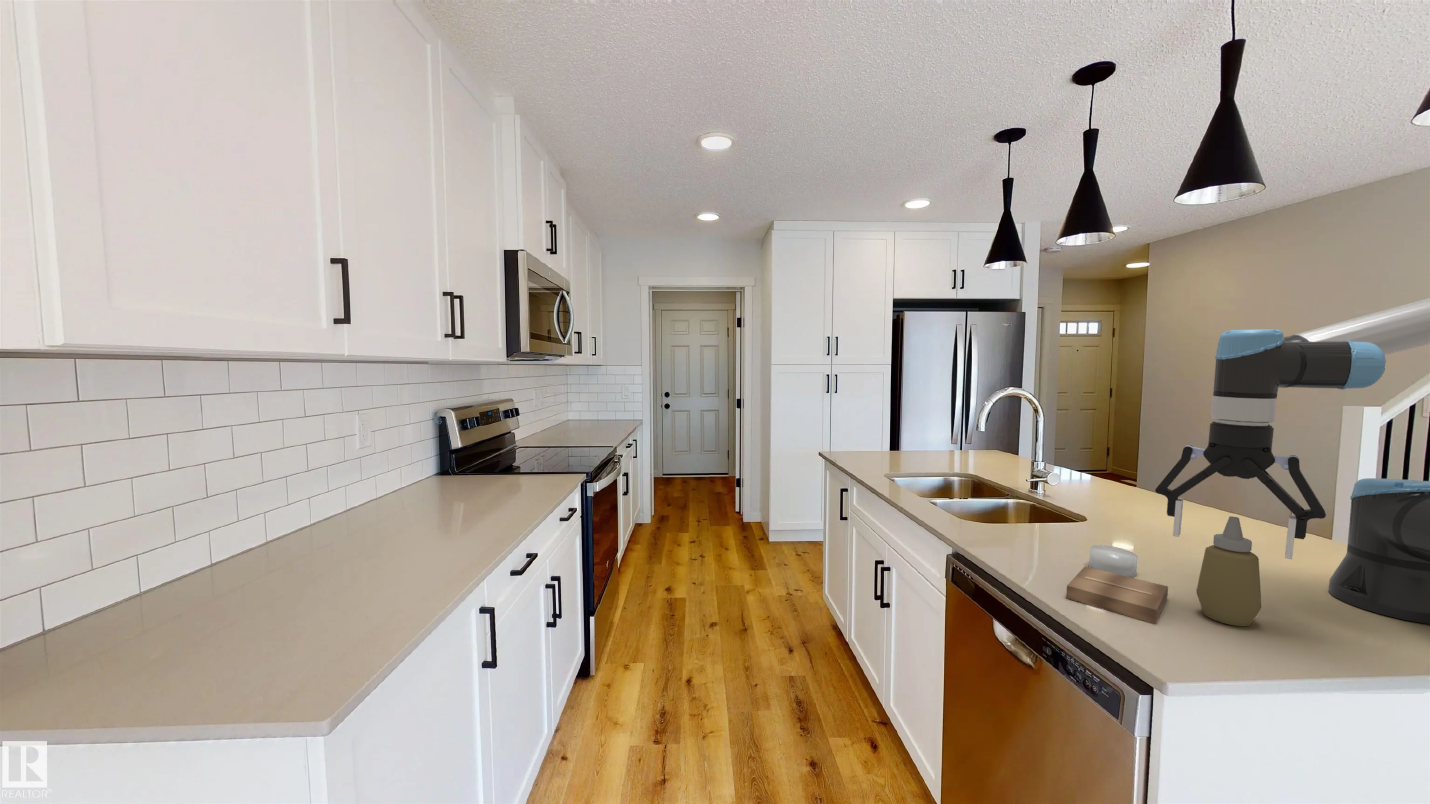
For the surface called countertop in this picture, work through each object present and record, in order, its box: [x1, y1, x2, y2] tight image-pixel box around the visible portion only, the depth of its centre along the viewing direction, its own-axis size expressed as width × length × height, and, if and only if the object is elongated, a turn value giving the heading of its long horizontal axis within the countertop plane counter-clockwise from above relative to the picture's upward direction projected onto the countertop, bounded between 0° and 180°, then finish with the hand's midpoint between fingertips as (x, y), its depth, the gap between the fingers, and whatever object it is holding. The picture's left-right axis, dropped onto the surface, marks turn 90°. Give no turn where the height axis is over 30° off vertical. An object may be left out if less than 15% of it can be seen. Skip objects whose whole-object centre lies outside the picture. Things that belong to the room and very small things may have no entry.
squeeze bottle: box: [1196, 515, 1263, 627], centre depth 89 cm, size 8×8×18 cm
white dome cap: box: [1088, 544, 1139, 578], centre depth 110 cm, size 8×8×4 cm
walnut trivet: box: [1065, 566, 1169, 625], centre depth 97 cm, size 13×13×3 cm
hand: (1229, 545), depth 89 cm, fingers open, 13 cm apart
